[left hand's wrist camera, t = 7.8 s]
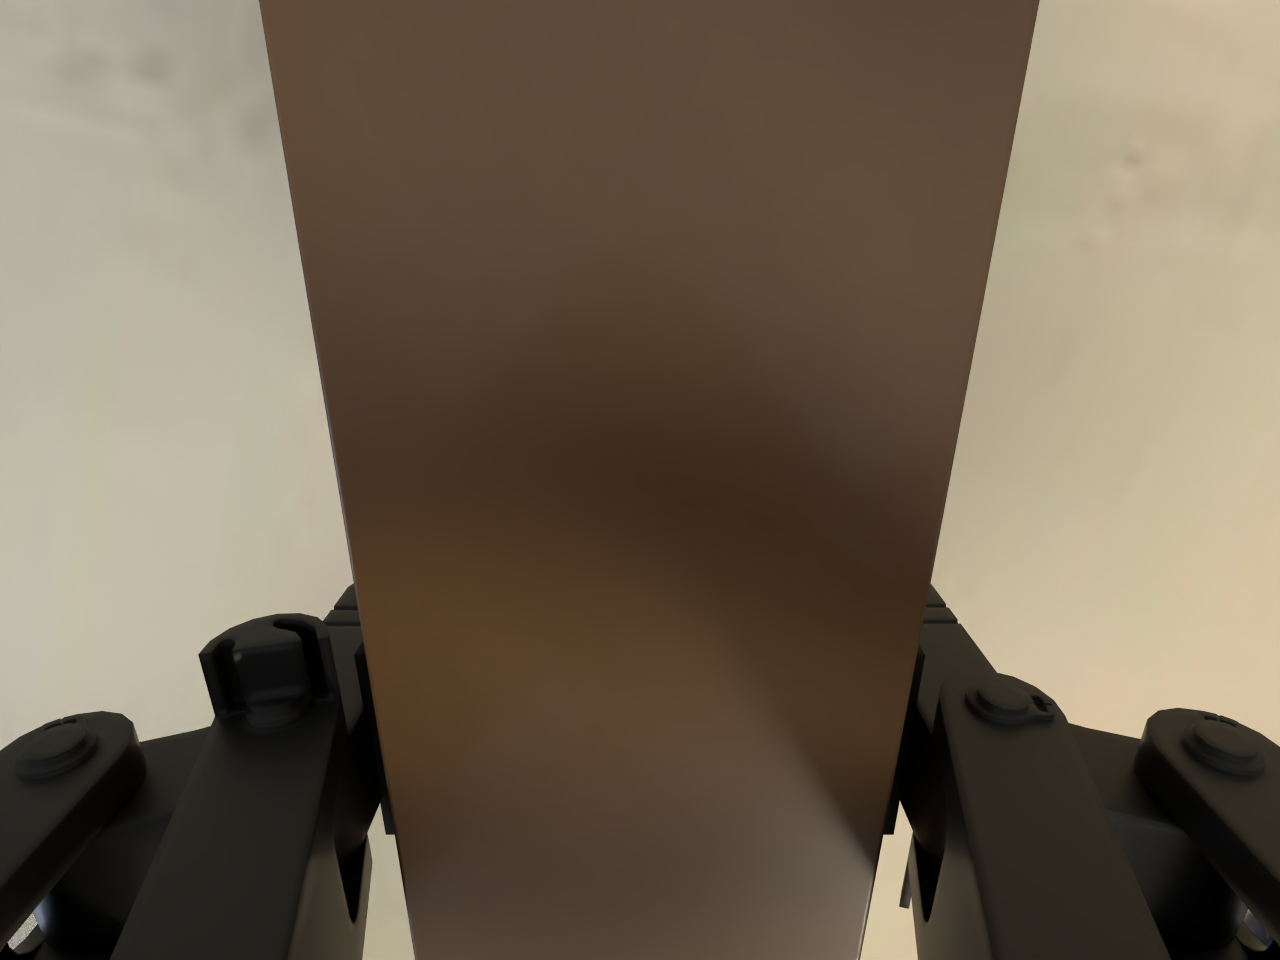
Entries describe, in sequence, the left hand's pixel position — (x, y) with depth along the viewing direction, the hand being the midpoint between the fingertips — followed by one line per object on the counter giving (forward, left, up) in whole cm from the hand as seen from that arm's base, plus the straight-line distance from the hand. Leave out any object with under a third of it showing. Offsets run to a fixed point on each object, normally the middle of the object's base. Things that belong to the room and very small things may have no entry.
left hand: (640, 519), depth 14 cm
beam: (+19, -9, 0) cm, 21 cm away
